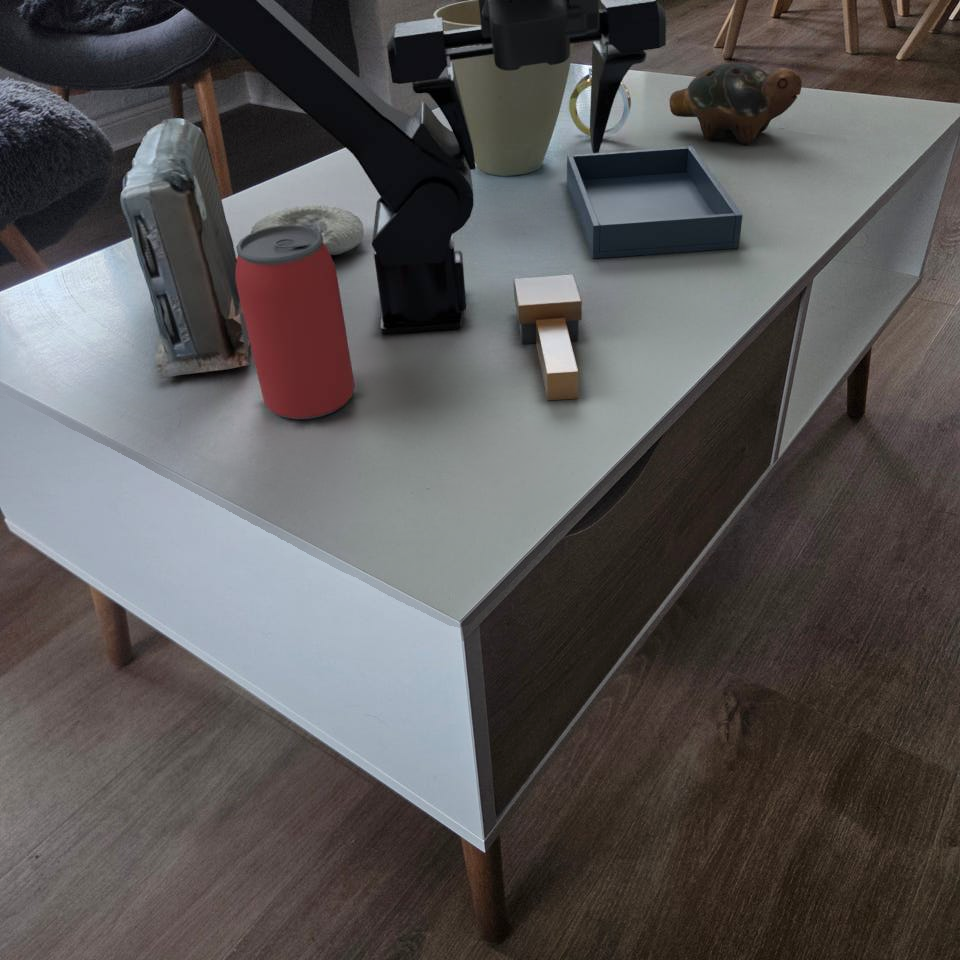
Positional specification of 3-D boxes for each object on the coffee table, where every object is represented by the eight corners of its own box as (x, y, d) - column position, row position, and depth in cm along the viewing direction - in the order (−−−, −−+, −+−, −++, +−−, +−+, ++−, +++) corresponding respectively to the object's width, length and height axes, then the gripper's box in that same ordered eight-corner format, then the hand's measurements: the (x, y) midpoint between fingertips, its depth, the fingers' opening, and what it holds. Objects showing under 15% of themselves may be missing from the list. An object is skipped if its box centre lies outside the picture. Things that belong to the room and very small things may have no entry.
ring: (631, 136, 110) (634, 64, 105) (624, 144, 108) (627, 71, 103) (574, 133, 112) (574, 62, 107) (567, 141, 110) (567, 69, 105)
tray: (592, 259, 83) (593, 225, 81) (566, 184, 98) (566, 155, 97) (738, 248, 83) (742, 215, 81) (690, 175, 99) (692, 146, 97)
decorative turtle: (788, 154, 102) (792, 78, 97) (656, 149, 109) (654, 78, 104) (808, 123, 108) (814, 51, 103) (683, 121, 115) (682, 53, 110)
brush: (596, 397, 65) (597, 354, 63) (528, 402, 65) (527, 359, 63) (573, 312, 75) (573, 273, 73) (514, 317, 75) (513, 278, 73)
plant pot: (540, 196, 96) (537, 29, 87) (420, 178, 102) (405, 21, 93) (599, 152, 106) (602, -2, 97) (486, 138, 113) (479, -8, 103)
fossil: (279, 240, 80) (220, 226, 87) (290, 281, 82) (232, 264, 89) (378, 200, 86) (316, 190, 93) (386, 239, 88) (325, 226, 95)
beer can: (339, 427, 64) (309, 264, 56) (250, 420, 65) (210, 260, 58) (367, 377, 69) (343, 222, 62) (284, 372, 70) (251, 219, 63)
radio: (186, 260, 88) (142, 97, 79) (277, 252, 88) (244, 88, 79) (134, 388, 70) (69, 193, 60) (249, 377, 70) (202, 182, 61)
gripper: (364, -42, 54) (409, 217, 63) (686, -88, 53) (682, 180, 62) (373, -67, 63) (411, 163, 72) (648, -107, 62) (650, 130, 71)
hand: (533, 159), depth 69 cm, fingers open, 9 cm apart
